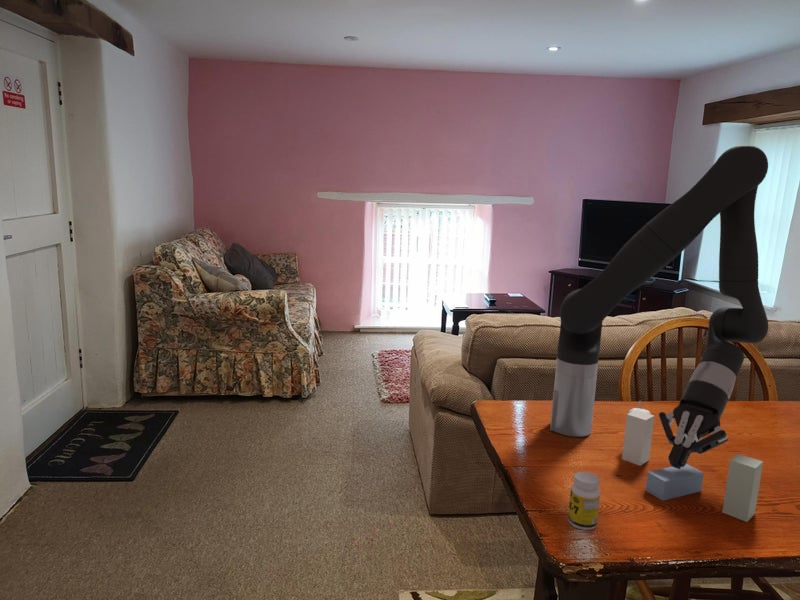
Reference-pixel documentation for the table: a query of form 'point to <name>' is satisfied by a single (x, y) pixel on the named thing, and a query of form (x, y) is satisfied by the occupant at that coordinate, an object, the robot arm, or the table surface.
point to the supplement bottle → (584, 501)
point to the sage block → (742, 487)
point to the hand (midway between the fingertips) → (674, 465)
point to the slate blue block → (674, 482)
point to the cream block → (638, 437)
